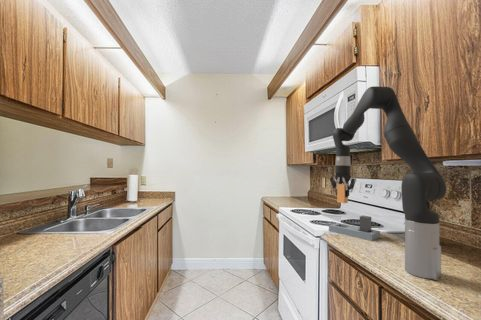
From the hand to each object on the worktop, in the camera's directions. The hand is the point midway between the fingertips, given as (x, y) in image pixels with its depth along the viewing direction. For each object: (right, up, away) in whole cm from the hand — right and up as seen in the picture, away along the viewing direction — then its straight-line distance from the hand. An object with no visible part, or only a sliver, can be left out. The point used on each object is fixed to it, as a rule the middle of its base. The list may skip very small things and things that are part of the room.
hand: (342, 196), depth 132 cm
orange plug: (0, -3, 0) cm, 3 cm away
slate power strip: (+4, -19, -5) cm, 20 cm away
